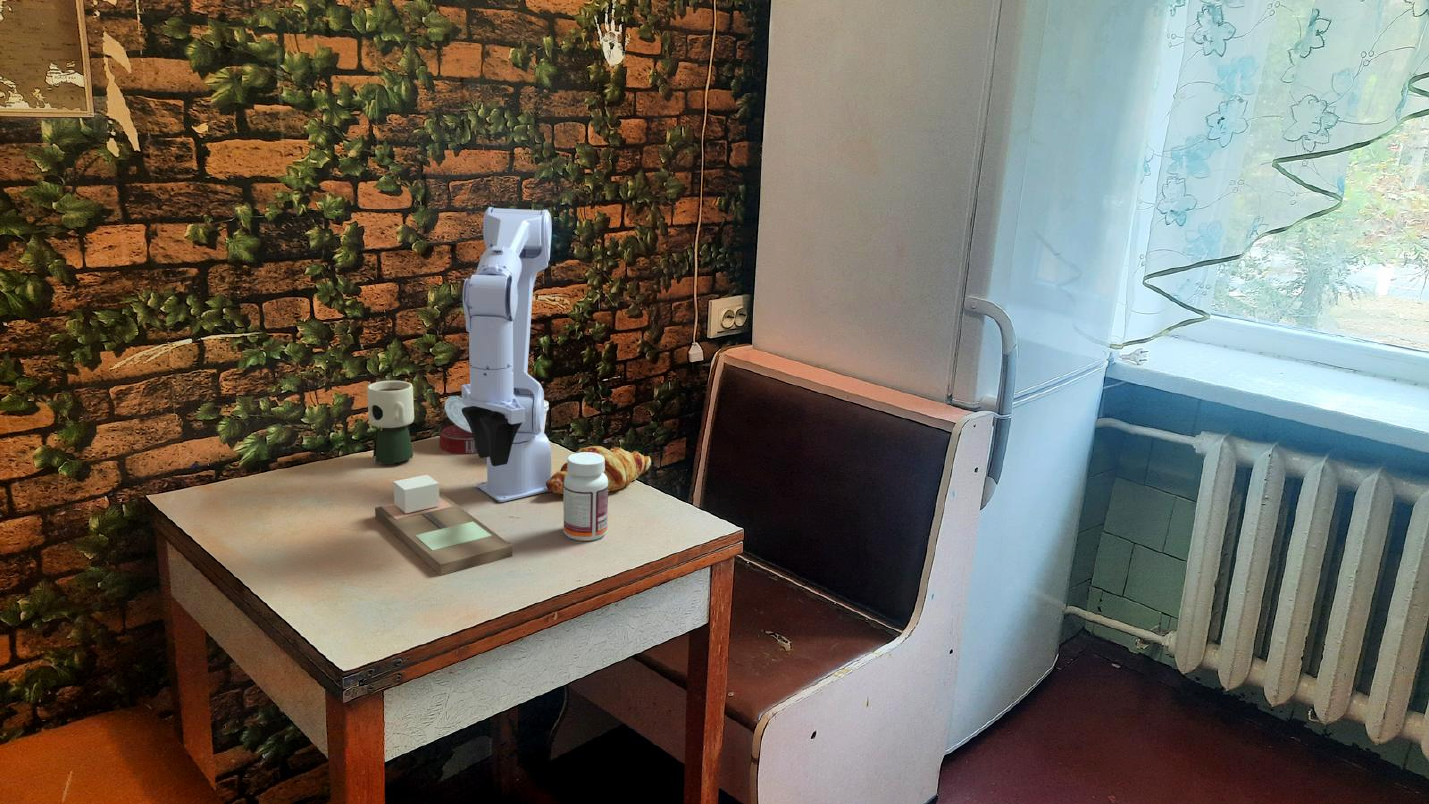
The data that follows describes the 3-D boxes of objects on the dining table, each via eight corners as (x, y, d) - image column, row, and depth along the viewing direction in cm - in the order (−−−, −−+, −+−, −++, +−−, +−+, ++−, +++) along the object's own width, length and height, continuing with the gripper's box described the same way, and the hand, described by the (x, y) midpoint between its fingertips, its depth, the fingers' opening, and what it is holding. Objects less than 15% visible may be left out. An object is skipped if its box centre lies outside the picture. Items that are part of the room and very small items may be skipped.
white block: (427, 497, 139) (427, 474, 138) (439, 505, 136) (438, 483, 135) (394, 504, 136) (393, 481, 135) (405, 513, 133) (404, 490, 132)
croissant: (636, 484, 162) (623, 440, 163) (674, 472, 156) (660, 426, 156) (537, 514, 147) (523, 465, 147) (575, 502, 140) (560, 450, 141)
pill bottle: (598, 522, 138) (600, 448, 135) (613, 538, 132) (615, 462, 129) (557, 527, 135) (558, 453, 132) (571, 545, 130) (571, 467, 127)
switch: (441, 502, 142) (441, 492, 141) (512, 556, 125) (512, 545, 125) (375, 517, 135) (374, 506, 135) (440, 575, 119) (440, 563, 119)
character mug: (361, 454, 160) (356, 380, 156) (403, 448, 164) (399, 375, 160) (382, 474, 151) (378, 396, 148) (426, 467, 155) (423, 391, 152)
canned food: (472, 460, 173) (492, 409, 174) (498, 471, 166) (518, 417, 167) (417, 441, 166) (438, 388, 167) (441, 451, 158) (463, 396, 159)
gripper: (440, 356, 129) (442, 450, 133) (489, 380, 119) (490, 481, 122) (487, 351, 134) (488, 442, 137) (538, 373, 123) (539, 471, 127)
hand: (492, 460), depth 130 cm, fingers open, 3 cm apart
